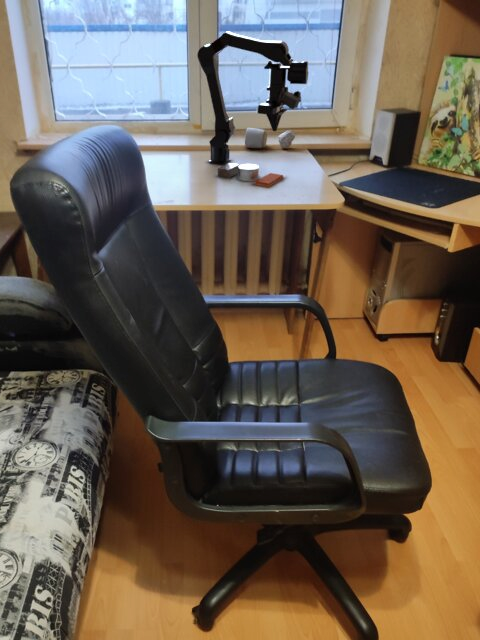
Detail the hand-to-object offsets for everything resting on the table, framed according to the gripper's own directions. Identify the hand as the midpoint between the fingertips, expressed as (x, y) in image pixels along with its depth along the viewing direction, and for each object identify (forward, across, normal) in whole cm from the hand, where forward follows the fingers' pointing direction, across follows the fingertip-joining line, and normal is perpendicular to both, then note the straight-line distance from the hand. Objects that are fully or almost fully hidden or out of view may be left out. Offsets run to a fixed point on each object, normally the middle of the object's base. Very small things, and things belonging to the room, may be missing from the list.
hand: (274, 131), depth 201 cm
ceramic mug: (+12, +20, +18) cm, 30 cm away
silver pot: (+12, -19, 0) cm, 23 cm away
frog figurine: (+12, +24, +6) cm, 28 cm away
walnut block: (+12, -19, +8) cm, 24 cm away
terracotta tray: (+12, -19, -8) cm, 24 cm away
